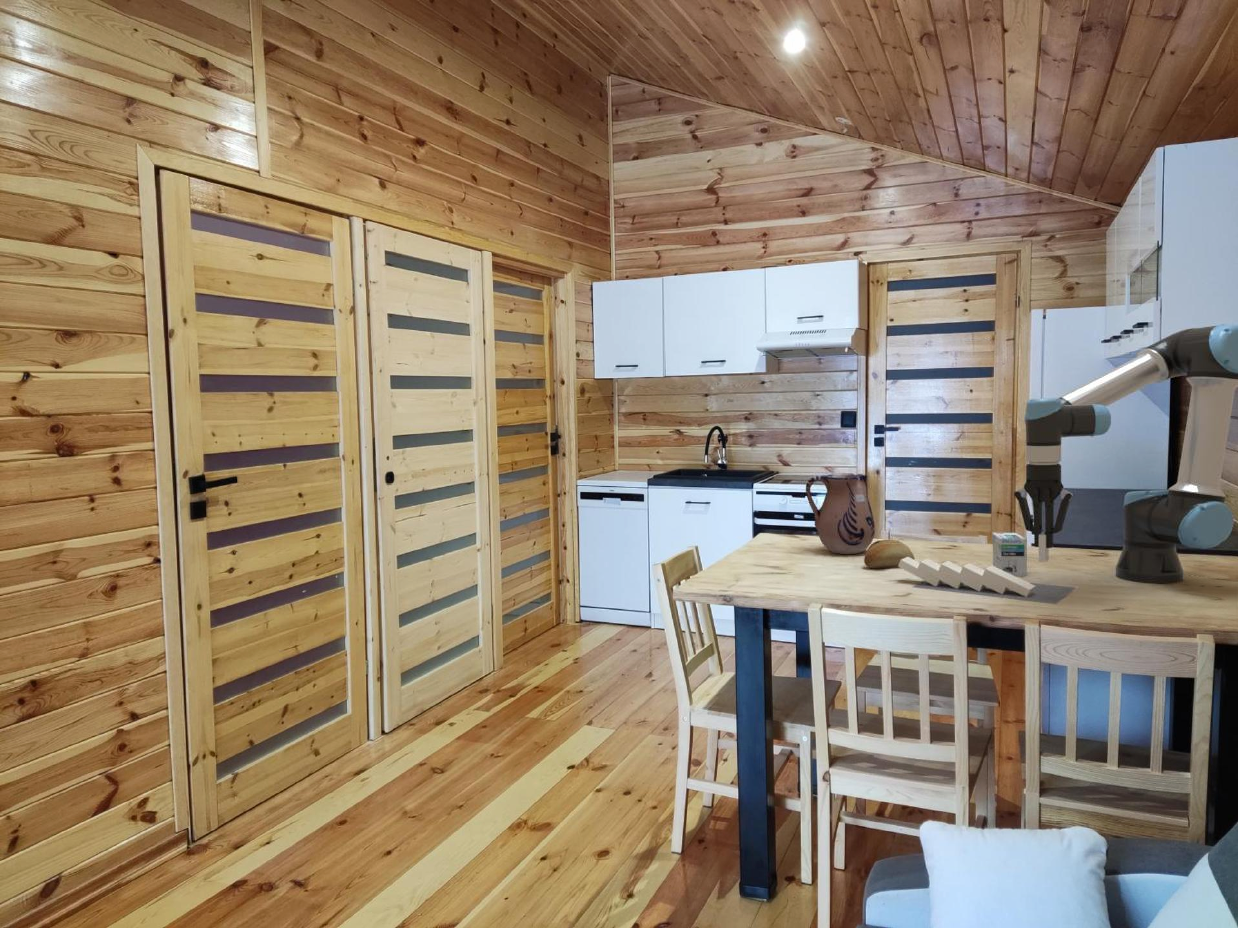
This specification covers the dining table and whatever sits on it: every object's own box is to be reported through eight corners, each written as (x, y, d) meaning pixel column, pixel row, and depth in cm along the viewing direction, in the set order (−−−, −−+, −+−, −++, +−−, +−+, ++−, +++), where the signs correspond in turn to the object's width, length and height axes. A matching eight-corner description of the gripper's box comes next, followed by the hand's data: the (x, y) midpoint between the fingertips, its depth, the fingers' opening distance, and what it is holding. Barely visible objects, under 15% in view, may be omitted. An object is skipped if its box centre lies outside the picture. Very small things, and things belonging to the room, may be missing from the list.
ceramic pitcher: (882, 556, 264) (881, 476, 262) (813, 558, 264) (812, 478, 263) (866, 546, 282) (865, 471, 280) (802, 548, 282) (801, 473, 280)
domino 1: (946, 576, 222) (907, 556, 228) (939, 579, 218) (900, 559, 225) (943, 583, 223) (905, 563, 229) (936, 586, 219) (897, 566, 225)
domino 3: (989, 580, 215) (948, 560, 222) (982, 584, 211) (941, 563, 218) (985, 587, 216) (945, 567, 222) (979, 591, 212) (938, 570, 218)
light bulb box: (1027, 578, 228) (1027, 538, 227) (1000, 577, 229) (1000, 538, 228) (1017, 570, 238) (1017, 531, 237) (991, 569, 239) (991, 532, 239)
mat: (1076, 589, 213) (1076, 587, 213) (1056, 605, 198) (1056, 603, 198) (939, 574, 235) (939, 573, 235) (912, 588, 220) (912, 586, 220)
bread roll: (857, 566, 251) (856, 539, 251) (904, 562, 254) (904, 536, 253) (871, 572, 242) (871, 544, 241) (920, 568, 244) (920, 541, 244)
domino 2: (966, 578, 219) (927, 558, 225) (960, 582, 215) (920, 561, 221) (963, 585, 219) (924, 565, 226) (957, 588, 216) (917, 568, 222)
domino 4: (1011, 583, 212) (969, 562, 218) (1005, 587, 208) (962, 566, 214) (1008, 590, 212) (966, 569, 219) (1002, 594, 209) (959, 573, 215)
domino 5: (1035, 585, 208) (991, 565, 214) (1029, 589, 204) (985, 568, 211) (1032, 592, 209) (988, 572, 215) (1026, 596, 205) (982, 575, 211)
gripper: (1077, 462, 201) (1077, 560, 203) (1019, 461, 210) (1019, 555, 211) (1069, 465, 195) (1069, 566, 197) (1009, 463, 204) (1010, 560, 206)
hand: (1043, 560), depth 204 cm, fingers closed
